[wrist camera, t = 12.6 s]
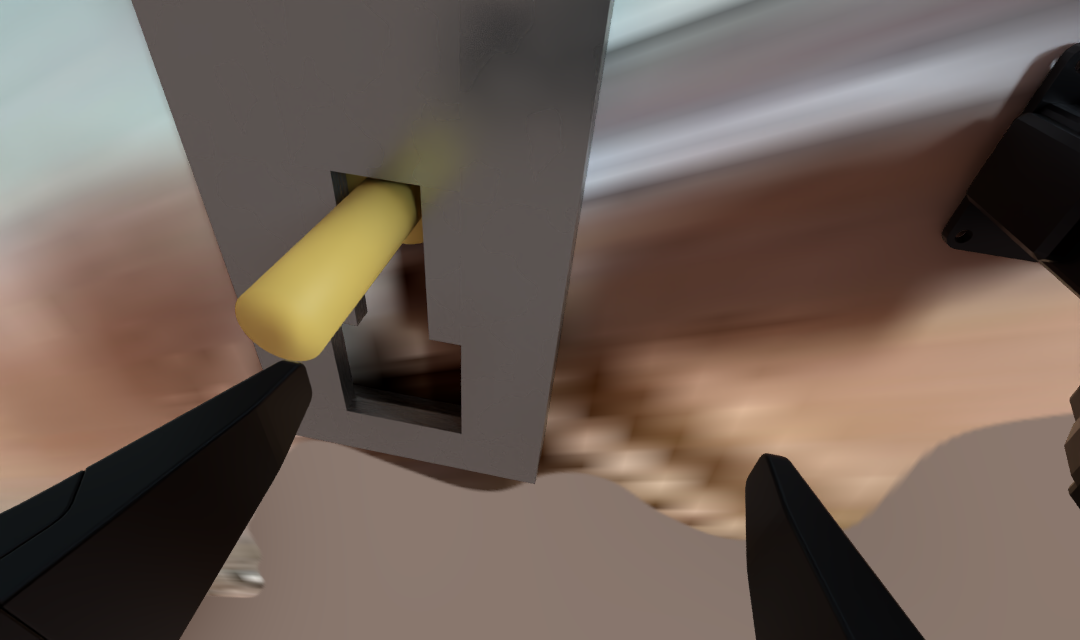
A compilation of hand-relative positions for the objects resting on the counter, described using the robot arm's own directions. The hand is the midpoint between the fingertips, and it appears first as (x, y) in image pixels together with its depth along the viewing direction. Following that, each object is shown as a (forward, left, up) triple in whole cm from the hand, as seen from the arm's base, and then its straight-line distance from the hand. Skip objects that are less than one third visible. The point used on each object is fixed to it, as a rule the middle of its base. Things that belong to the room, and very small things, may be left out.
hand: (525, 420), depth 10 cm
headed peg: (+7, +1, -12) cm, 14 cm away
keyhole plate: (+7, +5, -12) cm, 15 cm away
